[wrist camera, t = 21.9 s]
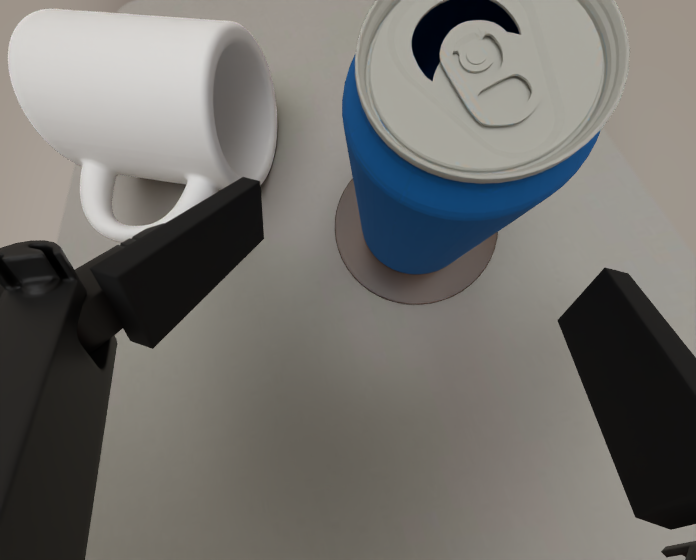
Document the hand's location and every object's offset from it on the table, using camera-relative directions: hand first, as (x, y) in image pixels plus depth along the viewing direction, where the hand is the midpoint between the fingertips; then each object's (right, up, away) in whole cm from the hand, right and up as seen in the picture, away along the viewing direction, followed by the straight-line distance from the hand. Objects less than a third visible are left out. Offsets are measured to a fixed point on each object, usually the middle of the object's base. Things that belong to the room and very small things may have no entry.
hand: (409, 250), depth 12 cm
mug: (-13, +6, +9) cm, 17 cm away
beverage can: (+2, +2, +7) cm, 7 cm away
